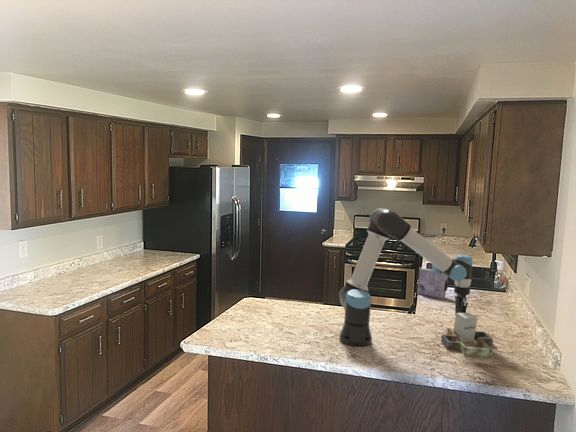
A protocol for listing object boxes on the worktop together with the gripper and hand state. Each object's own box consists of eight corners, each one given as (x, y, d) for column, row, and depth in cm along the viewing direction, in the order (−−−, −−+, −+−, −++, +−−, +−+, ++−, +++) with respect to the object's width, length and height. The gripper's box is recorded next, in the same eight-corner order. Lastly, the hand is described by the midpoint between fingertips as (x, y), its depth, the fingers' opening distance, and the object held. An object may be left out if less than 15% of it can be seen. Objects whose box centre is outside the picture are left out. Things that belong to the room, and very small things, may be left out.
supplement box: (461, 342, 233) (464, 318, 230) (452, 336, 240) (455, 312, 237) (474, 342, 235) (477, 317, 232) (464, 335, 242) (468, 312, 239)
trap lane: (450, 354, 217) (451, 346, 216) (435, 334, 244) (435, 327, 243) (504, 357, 215) (505, 350, 215) (483, 337, 243) (484, 330, 242)
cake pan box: (447, 297, 320) (449, 271, 319) (445, 299, 316) (447, 272, 315) (418, 292, 331) (420, 267, 329) (416, 294, 326) (418, 268, 325)
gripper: (474, 289, 236) (470, 335, 238) (465, 283, 249) (462, 327, 251) (458, 288, 236) (455, 335, 238) (451, 282, 249) (447, 326, 251)
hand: (458, 331), depth 245 cm, fingers closed
